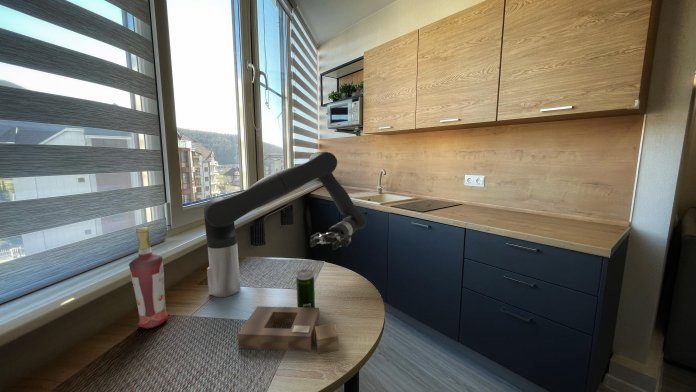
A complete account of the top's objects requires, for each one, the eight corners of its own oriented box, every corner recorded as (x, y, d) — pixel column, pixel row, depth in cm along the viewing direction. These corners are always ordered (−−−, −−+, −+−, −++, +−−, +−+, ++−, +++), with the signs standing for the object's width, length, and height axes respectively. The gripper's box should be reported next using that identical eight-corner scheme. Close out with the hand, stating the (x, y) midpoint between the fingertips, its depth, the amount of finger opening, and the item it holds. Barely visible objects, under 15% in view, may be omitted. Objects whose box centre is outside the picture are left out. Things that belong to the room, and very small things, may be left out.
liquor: (167, 326, 72) (156, 229, 68) (134, 335, 69) (120, 233, 65) (171, 313, 79) (160, 223, 75) (141, 320, 75) (128, 227, 71)
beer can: (317, 311, 79) (316, 274, 77) (300, 316, 77) (298, 278, 75) (311, 302, 84) (310, 267, 82) (295, 307, 81) (294, 271, 80)
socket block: (238, 348, 64) (237, 333, 63) (258, 318, 76) (257, 305, 75) (310, 351, 63) (310, 335, 62) (319, 320, 74) (318, 307, 74)
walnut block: (318, 354, 62) (317, 339, 61) (315, 340, 67) (314, 326, 66) (338, 350, 63) (338, 335, 62) (334, 337, 68) (333, 323, 67)
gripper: (324, 222, 105) (303, 233, 90) (357, 224, 100) (340, 236, 85) (324, 239, 106) (304, 253, 91) (357, 243, 101) (341, 258, 86)
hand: (321, 245), depth 88 cm, fingers open, 8 cm apart
